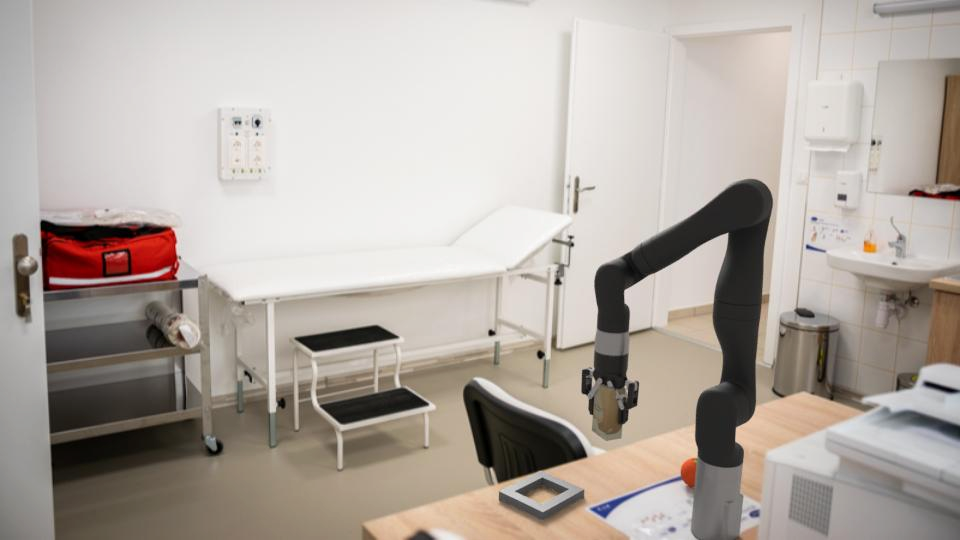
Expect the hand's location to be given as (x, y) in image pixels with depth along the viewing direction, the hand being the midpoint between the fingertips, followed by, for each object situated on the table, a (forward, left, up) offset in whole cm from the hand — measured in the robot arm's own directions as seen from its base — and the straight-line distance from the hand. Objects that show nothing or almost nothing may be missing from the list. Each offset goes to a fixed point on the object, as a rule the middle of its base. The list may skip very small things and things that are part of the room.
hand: (607, 418), depth 179 cm
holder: (+10, +10, -20) cm, 24 cm away
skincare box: (0, 0, -4) cm, 4 cm away
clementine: (-12, -21, -20) cm, 31 cm away
